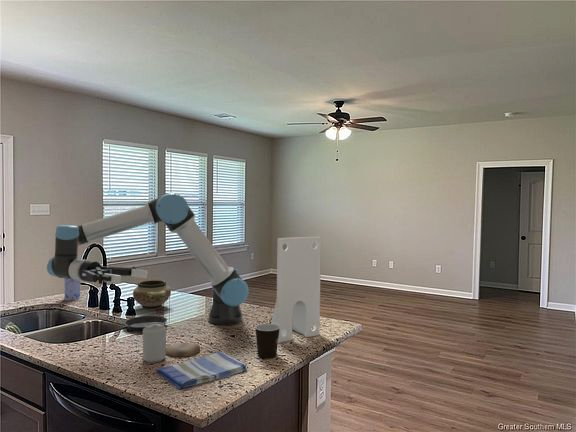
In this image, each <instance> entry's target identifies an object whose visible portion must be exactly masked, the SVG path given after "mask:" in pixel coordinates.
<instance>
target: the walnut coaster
mask: <svg viewBox="0 0 576 432" xmlns="http://www.w3.org/2000/svg"><path fill="white" fill-rule="evenodd" d="M200 351H201V346H200V345H199V344H197V343H194V342H177V343H172V344H170V345H168V346H166V356H169V357H173V358H185V357H191V356H195V355H197V354H198V353H200Z"/></svg>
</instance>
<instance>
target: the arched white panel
mask: <svg viewBox="0 0 576 432" xmlns="http://www.w3.org/2000/svg"><path fill="white" fill-rule="evenodd" d="M314 243H315V247H313V245H314ZM276 245H277V252H276V255H277V257H276V261H277V262H276V265H277V266H276V299H275V300H276V301H275V305H274V309H273V312H272V318H271V323H270V324H275V325H278V326H280V330H279V338H278V344H279V343H283V342H288V341H293V331H295V332H297V333H300V334H301V335H304V337H305V338H309V337H314V336H319V335H320V323H321V321H320V319H321V318H320V316H321V315H320V314H321V270H322V269H321V268H322V267H321V265H322V263H321V262H322V259H321V258H322V257H321V255H322V236H303V237H301V236H300V237H278V238H277V244H276ZM284 245H286V248H285V249H284ZM313 325H314V328H313V329H311V328H312V326H313Z"/></svg>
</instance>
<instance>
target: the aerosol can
mask: <svg viewBox="0 0 576 432" xmlns="http://www.w3.org/2000/svg"><path fill="white" fill-rule="evenodd" d="M81 299H82V298H81V281H80V282H78V280H75V279H68V278H64V301H71V302H72V301H78V300H81Z"/></svg>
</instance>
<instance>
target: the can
mask: <svg viewBox="0 0 576 432" xmlns="http://www.w3.org/2000/svg"><path fill="white" fill-rule="evenodd" d="M166 348H167V327H166V326H165V325H164V324H163V323H161V322H152V323H148V324H146V325H145V328H144V329H143V332H142V360H144V361H145V362H147V363H151V364H152V363H159V362H162V361H163V360H164V359H165V358H166V357H167V354H166Z"/></svg>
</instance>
